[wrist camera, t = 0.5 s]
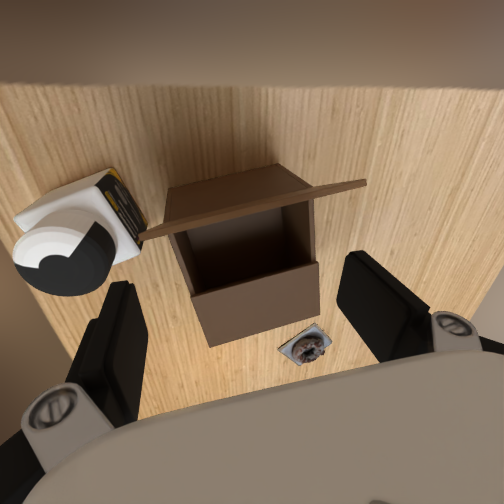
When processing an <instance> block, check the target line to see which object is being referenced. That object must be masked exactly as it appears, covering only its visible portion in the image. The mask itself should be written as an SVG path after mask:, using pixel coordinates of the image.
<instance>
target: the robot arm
mask: <svg viewBox="0 0 504 504" xmlns="http://www.w3.org/2000/svg"><path fill="white" fill-rule="evenodd" d="M336 302H337V305H338V307H339V308H340V310H341V311H342V312H343V314H344V315H345V317H346V318H347V319H348V321H349V322H350V323H351V325H352V326H353V327H354V329H355V330H356V331H357V333H358V334H359V335H360V337H361V338H362V340H363V341H364V342H365V344H366V345H367V346H368V348H369V349H370V350H371V352H372V353H373V354H374V356H375V357H376V358H377V360H378V361H379V362H380V363H378V364H374V365H369V366H365V367H360V368H356V369H351V370H347V371H342V372H338V373H333V374H329V375H324V376H320V377H315V378H311V379H306V380H302V381H298V382H293V383H289V384H284V385H280V386H276V387H271V388H267V389H262V390H258V391H254V392H249V393H245V394H241V395H237V396H232V397H228V398H224V399H219V400H215V401H211V402H206V403H202V404H198V405H194V406H190V407H186V408H182V409H178V410H174V411H170V412H166V413H162V414H158V415H155V416H152V417H148V418H145V419H141V420H138V421H137V419H138V413H139V405H140V398H141V390H142V382H143V375H144V367H145V360H146V352H147V344H148V330H147V327H146V323H145V320H144V316H143V313H142V309H141V306H140V303H139V299H138V296H137V292H136V289H135V286H134V284H133V283H132V284H129V282H128V281H127V280H126V281H119V282H112V283H111V284H110V287H109V290H108V292H107V295H106V298H105V301H104V303H103V306H102V309H101V312H100V314H99V317H98V318H96V319H91V320H90V321H89V323H88V325H87V328H86V330H85V333H84V335H83V338H82V340H81V343H80V345H79V348H78V350H77V353H76V355H75V358H74V360H73V363H72V365H71V368H70V370H69V373H68V376H67V378H66V381H65V383H61V384H58V385H55V386H53V387H51V388H49V389H47V390H46V391H44V392H42V393H41V394H40V395H39V396H38V397H36V398H35V399H34V400H33V402H31V404H30V405H29V406H28V407H27V409H26V411H25V412H24V414H23V417H22V421H21V426H22V429H21V430H20V431H18V432H17V433H16V434H14V435H13V436H12V437H11V438H9V439H8V440H7V441H6V442H4V443H3V444H2V445H1V446H0V504H504V344H502V343H499V342H496V341H493V340H490V339H487V338H484V337H481V336H478V333H477V330H476V328H475V327H474V326H473V324H472V323H471V322H469V321H468V320H467V319H465V318H463V317H461V316H459V315H457V314H454V313H452V312H447V311H437V312H434V313H433V314H432V315H431V314H430V313H429V312H428V311H429V309H430V307H429V306H428V305H427V304H426V303H424V302H423V301H422V300H421V299H420V298H419V297H417V296H416V295H415V294H414V293H413V292H412V291H410V290H409V289H408V288H407V287H406V286H405V285H403V284H402V283H401V282H400V281H399V280H398V279H396V278H395V277H394V276H393V275H392V274H391V273H389V272H388V271H387V270H386V269H385V268H384V267H382V266H381V265H380V264H379V263H378V262H377V261H375V260H374V259H373V258H372V257H371V256H370V255H368V254H367V253H366V252H365V251H363V250H360V251H352V252H350V253H349V254H348V255H347V256H346V258H345V262H344V267H343V271H342V276H341V280H340V285H339V289H338V294H337V299H336Z"/></svg>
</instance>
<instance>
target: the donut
mask: <svg viewBox="0 0 504 504" xmlns="http://www.w3.org/2000/svg"><path fill="white" fill-rule="evenodd" d="M331 343H332V341H331V339H330V338H329V337H328V336H327V335H326V334H325V333H324V332H323V331H322V330H321V329H320V328H319V327H318V326H317V325H316V323H314V324H313V325H311V326H310V327H308V328H307V329H306V330H305V331H304V332H301V333H300V334H298V336H296V337H294V338H293V339H292V340H290V341H289V342H288V343H286V344H285V345H283V346H282V347H280V348H279V349H278V351H279V352H281V353H282V354H283V355H285V356H286V357H288V358H289V359H291V360H292V361H293V362H295V363H296V364H297V365H298V366H301V365H302V364H303V363H307V362H308V363H310V362H312V361H314V360H316V359H317V358H318V357H319V356H320V355H324V353H325V351H324V348H326V347H327V346H329V345H330V344H331Z"/></svg>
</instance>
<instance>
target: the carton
mask: <svg viewBox="0 0 504 504" xmlns="http://www.w3.org/2000/svg"><path fill="white" fill-rule="evenodd" d="M311 187H313V186H311V185H310V184H308V183H307V182H305V181H304V180H302V179H301V178H299V177H298V176H296V175H295V174H294V173H292V172H291V171H289V170H288V169H286V168H285V167H283V166H282V165H280V164H275V165H270V166H266V167H261V168H257V169H253V170H248V171H244V172H239V173H235V174H231V175H226V176H222V177H217V178H213V179H209V180H204V181H200V182H196V183H191V184H187V185H182V186H178V187H174V188H169V189H168V194H167V201H166V208H165V215H164V222H163V223H166V222H170V221H175V220H179V219H183V218H187V217H191V216H195V215H199V214H204V213H208V212H212V211H216V210H220V209H224V208H228V207H233V206H237V205H241V204H245V203H249V202H253V201H257V200H262V199H266V198H270V197H274V196H278V195H282V194H286V193H291V192H295V191H299V190H303V189H307V188H311ZM168 237H169V240H170V242H171V245H172V248H173V250H174V253H175V255H176V258H177V261H178V263H179V266H180V269H181V271H182V274H183V276H184V279H185V282H186V284H187V287H188V290H189V292H190V295H191V296H190V298H191V301H192V303H193V306H194V309H195V311H196V314H197V316H198V319H199V322H200V324H201V327H202V329H203V332H204V335H205V337H206V340H207V342H208V345H209V348H211V347H214V346H217V345H221V344H224V343H227V342H231V341H234V340H237V339H241V338H244V337H248V336H251V335H254V334H258V333H261V332H264V331H268V330H271V329H274V328H278V327H281V326H284V325H288V324H291V323H294V322H298V321H301V320H304V319H308V318H311V317H314V316H318V315H320V293H319V263H318V261H316V255H315V227H314V200H313V199H311V200H306V201H302V202H298V203H294V204H290V205H286V206H282V207H278V208H274V209H270V210H266V211H262V212H258V213H254V214H250V215H246V216H242V217H238V218H234V219H229V220H225V221H221V222H217V223H213V224H209V225H205V226H201V227H197V228H193V229H189V230H185V231H181V232H177V233H173V234H169V235H168Z"/></svg>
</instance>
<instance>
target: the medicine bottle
mask: <svg viewBox="0 0 504 504" xmlns="http://www.w3.org/2000/svg"><path fill="white" fill-rule="evenodd" d="M14 221H15V223H16V224H17V225H18V226H19V227H20V228H21V229H22V230H23V231H24V232H25V234H24V235H23V236H22V237H21V238H20V239H19V240H18V241H17V243H16V244H15V247H14V250H13V261H14V265H15V267H16V269H17V271H18V272H19V274H20V275H21V276H22V277H23V279H24V280H25V281H26V282H28V283H29V284H30V285H32V286H33V287H35V288H36V289H38V290H40V291H43V292H45V293H48V294H52V295H57V296H79V295H84V294H87V293H90V292H92V291H94V290H96V289H97V288H99V287H100V286H101V285H102V284H103V283H104V282H105V280H106V278H107V276H108V274H109V271H110V269H111V266H113V265H115V264H118V263H120V262H123V261H125V260H128V259H130V258H133V257H135V256H138V255H139V254H140V253H141V249H142V245H143V241H140V240H139V237H138V234H140V233H142V232H144V231H146V230H147V226H148V223H147V221H146V220H145V218H144V217H143V215H142V213H141V212H140V210H139V208H138V207H137V205H136V203H135V202H134V200H133V199H132V197H131V195H130V194H129V192H128V190H127V189H126V187H125V185H124V184H123V182H122V180H121V179H120V177H119V176H118V174H117V172H116V171H115V169H113V168H109V169H106V170H103V171H101V172H98V173H96V174H93V175H90V176H88V177H85V178H83V179H80V180H77V181H75V182H72V183H70V184H67V185H65V186H62V187H59V188H57V189H54V190H52V191H49V192H48V193H47V194H45V195H44V196H42V197H41V198H40V199H38V200H37V201H35V202H34V203H33V204H31V205H30V206H28V207H27V208H26V209H24V210H23V211H21V212H20V213H19V214H17V215H16V216H15V217H14Z"/></svg>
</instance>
